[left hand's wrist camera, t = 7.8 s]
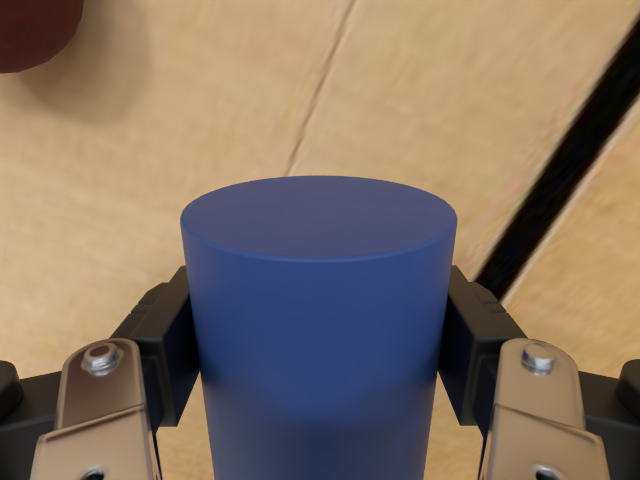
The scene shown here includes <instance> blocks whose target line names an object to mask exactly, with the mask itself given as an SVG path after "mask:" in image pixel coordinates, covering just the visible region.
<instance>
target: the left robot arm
mask: <svg viewBox="0 0 640 480" xmlns="http://www.w3.org/2000/svg"><path fill="white" fill-rule="evenodd" d="M199 372H200V366H199V358H198V351H197V343H196V336H195V329H194V321H193V314H192V306H191V299H190V291H189V284H188V277H187V269H186V266H181V267H180V268H179V270H178V271H177V272H176V274H175V275H174V276H173V278H172V279H171V280H170V282H169V283H161V284H159V285H157V286H156V287H154V288H152V289H151V290H149V291H148V292H146V294H145V295H144V296H143V297H142V299H141V300H140V301H139V302H138V305H136V306H135V307H134V308H133V310H132V311H131V314H129V315H128V316H127V317H126V318H125V320H124V321H123V322H122V323H121V324H120V326H119V327H118V328H117V329H116V331H115V332H114V333H113V334H112V336H111V337H110V338H109V339H105V340H101V341H97V342H94V343H92V344H89V345H87V346H85V347H83V348H81V349H79V350H78V351H76V352H75V353H73V354H72V355H71V356H70V357H69V358H68V359H67V360H66V361H65V363H64V365H63V368H62V371H58V372H54V373H50V374H45V375H40V376H35V377H30V378H25V379H20V380H19V377H18V374H17V371H16V368H15V366H14V365H13V364H12V363H10V362H7V361H1V360H0V480H163V473H162V467H161V460H160V453H159V447H158V442H157V437H156V432H157V430H158V428H159V427H177V425H178V423H179V420H180V418H181V415H182V413H183V411H184V408H185V406H186V403H187V401H188V398H189V396H190V394H191V391H192V389H193V386H194V384H195V381H196V379H197V377H198V374H199ZM438 372H439V374H440V377H441V379H442V382H443V384H444V387H445V389H446V392H447V394H448V397H449V399H450V402H451V404H452V407H453V409H454V412H455V414H456V417H457V419H458V422H459V424H460V426H478V427H479V429H480V431H481V434H482V436H483V442H482V447H481V453H480V460H479V467H478V473H477V480H640V359H635V360H630V361H628V362H626V363H625V364H624V365H623V368H622V371H621V374H620V377H619V379H616V378H611V377H606V376H601V375H596V374H591V373H586V372H582V371H578V368H577V365H576V363H575V361H574V360H573V359H572V358H571V357H570V356H569V355H568V354H567V353H565V352H564V351H562V350H561V349H559V348H557V347H555V346H553V345H551V344H548V343H546V342H543V341H539V340H535V339H528V337H527V336H526V335H525V334H524V332H523V331H522V330H521V329H520V327H519V326H518V325H517V324H516V323H515V321H514V320H513V319H512V318H511V316H510V315H509V314H508V313H506V310H505V309H504V308H503V306H502V305H501V304H499V301H498V300H497V299H496V298H495V296H494V295H493V294H492V293H491V291H489V290H487V289H486V288H484V287H483V286H481V285H479V284H478V283H476V282H468V281H467V279H466V278H465V276H464V275H463V274H462V272H461V271H460V270H459V268H458V267H457V266H456V265H451V273H450V280H449V288H448V295H447V303H446V310H445V318H444V326H443V333H442V341H441V348H440V356H439V363H438Z"/></svg>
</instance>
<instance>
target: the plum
mask: <svg viewBox="0 0 640 480" xmlns="http://www.w3.org/2000/svg"><path fill="white" fill-rule="evenodd" d="M82 8H83V0H0V73H13V72H20V71H23V70H26V69H29V68H32V67H34V66H37V65H40V64H42V63H45V62H47V61H48V60H50V59H51V58H52V57H53V56H54V55H56V54H57V53H58V52H59V51H61V50H62V49H63V48H64V47H65V46H66V45H67V44H68V42H69V41H70V39H71V38H72V37H73V35H74V34H75V32H76V29H77V27H78V24H79V22H80V20H81V17H82Z"/></svg>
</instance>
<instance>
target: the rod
mask: <svg viewBox="0 0 640 480" xmlns="http://www.w3.org/2000/svg"><path fill="white" fill-rule="evenodd" d="M180 225H181V232H182V240H183V247H184V254H185V262H186V269H187V277H188V284H189V291H190V299H191V306H192V314H193V321H194V329H195V336H196V343H197V351H198V358H199V366H200V373H201V380H202V388H203V395H204V403H205V410H206V417H207V425H208V432H209V440H210V447H211V455H212V462H213V469H214V477H215V480H423V477H424V469H425V462H426V454H427V446H428V439H429V431H430V424H431V416H432V409H433V401H434V394H435V386H436V378H437V371H438V363H439V356H440V348H441V341H442V333H443V326H444V318H445V310H446V303H447V295H448V288H449V280H450V273H451V265H452V258H453V250H454V242H455V235H456V227H457V216H456V213H455V211H454V209H453V208H452V207H451V206H450V205H449V204H448V203H447V202H445V201H444V200H442V199H441V198H439V197H437V196H435V195H433V194H431V193H428V192H426V191H423V190H420V189H417V188H414V187H410V186H407V185H403V184H398V183H394V182H388V181H383V180H376V179H368V178H359V177H346V176H292V177H279V178H270V179H262V180H255V181H250V182H244V183H240V184H235V185H231V186H228V187H224V188H221V189H218V190H215V191H212V192H209V193H207V194H205V195H203V196H201V197H199V198H197V199H195V200H194V201H192V202H191V203H190V204H188V205H187V206H186V208H185V209H184V210H183V212H182V215H181V218H180Z"/></svg>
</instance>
